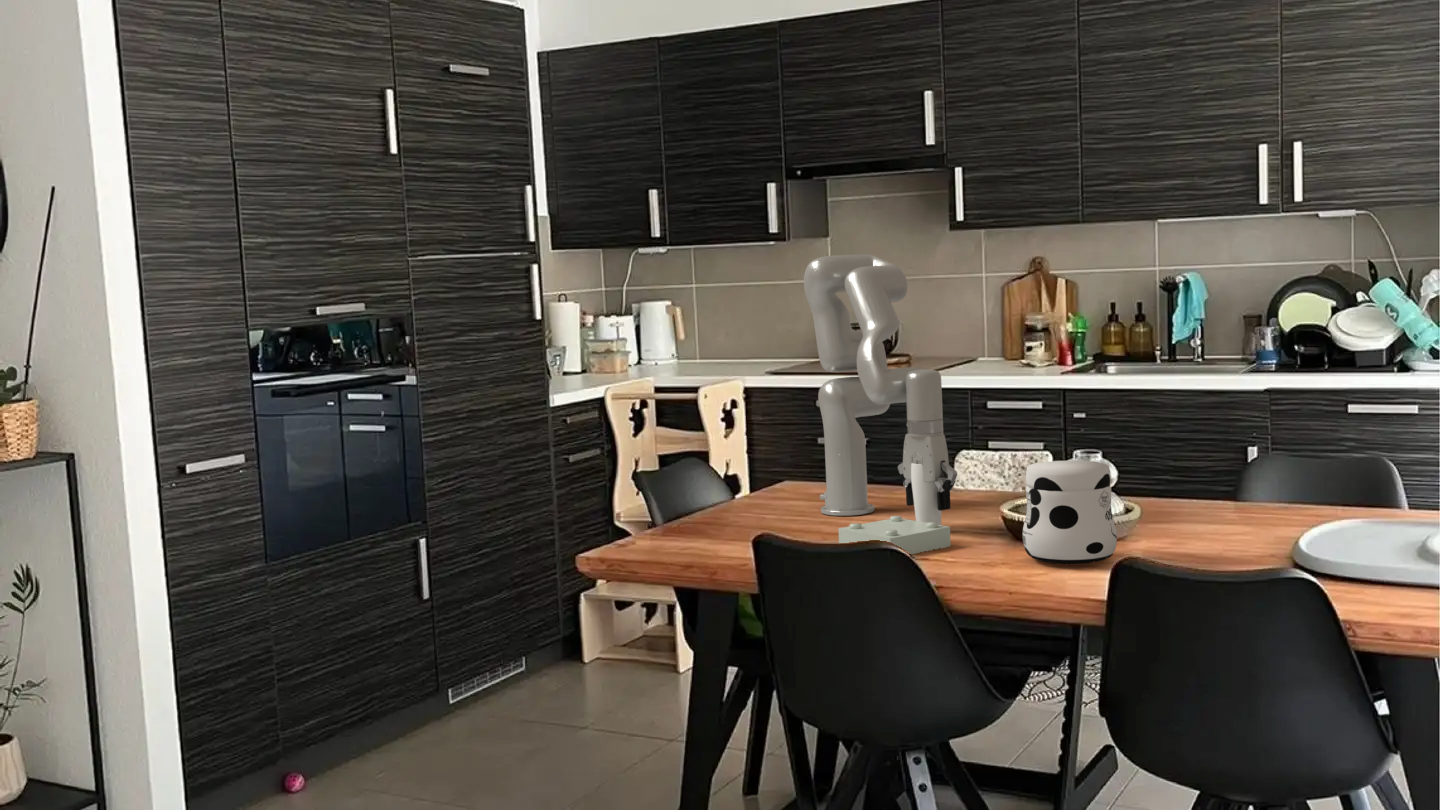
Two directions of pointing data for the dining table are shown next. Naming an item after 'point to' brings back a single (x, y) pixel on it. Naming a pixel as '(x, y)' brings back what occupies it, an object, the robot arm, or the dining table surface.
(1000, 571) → the dining table surface
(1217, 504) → the dining table surface
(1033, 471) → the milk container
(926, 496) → the drinking glass
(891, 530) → the brick riser
